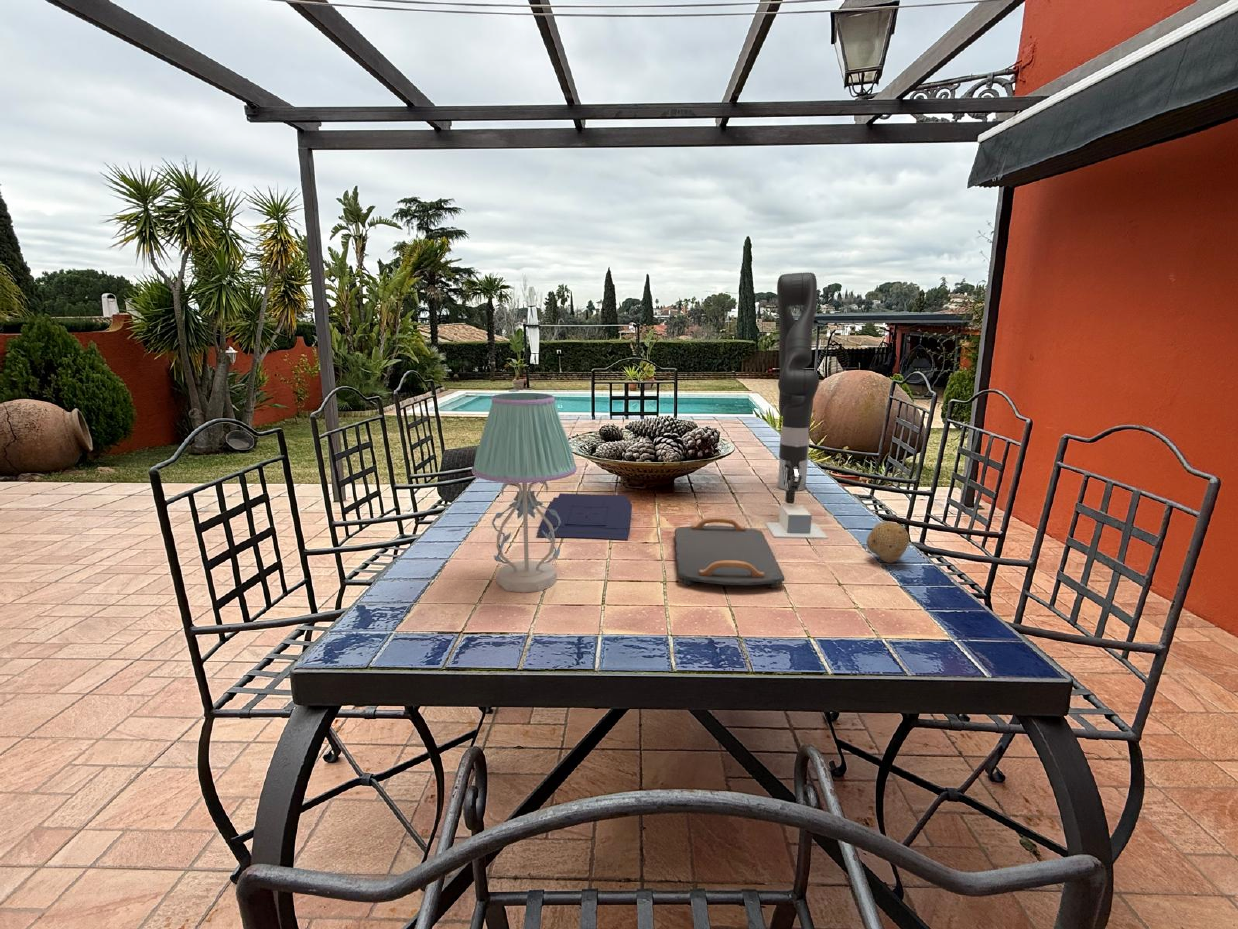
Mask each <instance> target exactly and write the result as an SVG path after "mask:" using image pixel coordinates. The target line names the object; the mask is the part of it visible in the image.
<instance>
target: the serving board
mask: <svg viewBox="0 0 1238 929" xmlns="http://www.w3.org/2000/svg"><path fill="white" fill-rule="evenodd" d="M711 523H721V524H722V523H723V524H729V525H715V524H714V525H713V524H712V525H711ZM708 524H710V525H708ZM730 525H732V526H730ZM674 543H675V545H676V546H675V549H674V552H675V555H676V557H675V562H676V564H677V565H676V566H677V568H676V569H677V576H678V578H680V579H683V585H684V586H685V587H693V586H694V585H695V584H694V582H697V583H698V582H700V583H706V584H712V585H713V584H714V585H723V586H724V585H725V586H756V585H757V586H758V585H759V586H760V585H767V587H768V589H770V590H777V589H778V588H779V583H783V582H785V580H786V579H785V576H784V574H783V571H782V569H781V568H780V565H779V562H778V561H777V559H776V557H775V555H774V553H773V551H772V548H771V547H770V545H769V542H768V541H767V539H766V537H765V535H764V532H763V531H762V530H759V529H756V528H748V527H745V526H742V525H740V524H739V523H738V522H737V521H735V520H734V519H733V518H729V517H728V518H727V517H721V516H716V517H715V516H712V517H707V518H706V517H705V518H704V519H702V520H701V521H699V522H698V523H697V524H692V525H691V526H680V527H675V529H674Z"/></svg>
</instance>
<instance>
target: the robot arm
mask: <svg viewBox="0 0 1238 929" xmlns="http://www.w3.org/2000/svg"><path fill="white" fill-rule="evenodd" d="M776 284H777V285H776V292H777V293H776V294H777V295H776V296H777V307H778V308H777V309H778V311H777V312H778V322H779V323H778V324H779V327H778V328H779V331H778V332H779V333H778V334H779V335H778V338H779V339H778V356H779V357H778V361H779V379H778V383H777V388H778V391H779V394H778V411H779V415H780V416H781V417H782V421H781V422H782V424H781V431H780V438H779V451H778V452H779V453H778V454H779V455H778V457H779V462H778V464H779V466H778V478H777V479H778V480H777V487H778V488H779V489H781V490H785V497H784V498H785V499H784V500H785V501H784V502H786V504H789V505H794V503H795V497H796V496H795V494H796V491H804V490H806V485H807V475H808V474H807V473H808V461H809V460H808V459H809V446H810V435H811V434H810V433H811V424H812V423H811V422H812V413H813V406H814V398H815V396H816V393H817V391H818V388H819V384H820V378H819V374H818V373H817V372H816V371H815V370H812V369H810V370H809V369H805V368H806V367H808V366H810V364H811V363H812V357H813V354H812V353H813V351H812V350H813V346H812V344H813V343H812V340H813V337H812V336H813V328H814V322H815V314H816V313H815V312H816V305H817V296H818V282H817V278H816V274H814V273H813V272H796V273H795V272H793V273H784V274H781V275H780V276H779V278H778V279H777V283H776ZM797 306H799V307H800V306H804V307H803V311H802V312H801V314H800V315H799V317H798V318H797V320H796V319H795V317H794V315H793V313H792V311H791V308H790V307H797Z"/></svg>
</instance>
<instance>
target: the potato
mask: <svg viewBox="0 0 1238 929" xmlns="http://www.w3.org/2000/svg"><path fill="white" fill-rule="evenodd" d="M909 543H910V536H909V533H908V531H907V530H906V528H905V527H904V526H902V525H901V524H900V523H897V522H895V521H894V522H893V521H889V520H888V521H883V522H881V523H880V522H879V524H876V525H875V526H874V527H873V529H872V530H871V531H870V533H869V534H868V536H867V538H866V546H867V549H868V550H869V551H870V552H872V553H873V554H875V555H877V557H879V559H880V560H882V561H883V562H885V563H888V564H891V563H895V562H896V561H898V560H899V559H900V558H902V556H903V555H904V554H905V552H906V551H907V548H908V546H909Z"/></svg>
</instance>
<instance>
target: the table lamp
mask: <svg viewBox="0 0 1238 929" xmlns="http://www.w3.org/2000/svg"><path fill="white" fill-rule="evenodd" d="M490 401H491V404H490V408H489V411H488V415H487V419H486V422H485V424H484V429H483V431H482V434H481V438H480V439H479V443H478V446H477V449H476V451H475V452H476V453H475V458H474V462H473V463H474V464H473V466H472V467H471V473H472V475H473V476H474V477H476V478H479V479H481V480H485V481H488V482H489V481H490V482H497V483H503V484H502V486H501V489H500V492H501V495H502V496H504V492H505V491H504V490H505V489H506V488H507V486H512V487H517V488H518V490H519V491H516V495H515V496H514V498H513V501H514V502H511V503H510V504H509V505H508V508H506V509H505V510H504V511H502V512H497V513H496V514H495V516H494V517H493V518H492V521H491V525H492V527H493V529H494V530H495V531H496V532H497V535H496V549H497V554H496V555H493V557H494V559H493V560H495V562H499V563H502V564H506V565H502V566H500V567H499V568H498V572H497V578H496V584H498V586H500V588H502V589H504V590H505V591H506V592H516V593H524V594H525V593H534V592H541V591H543V590H546V589H548V588H551V587H553V585H554V584H555V583H556V582H557V581H558V579H557V574H558V572H557V570H556V568H555V566H554V564H550V563H551V562H552V561H553V560H555V558H558V557H559V556H560V554H561V548H558V549H557V548H556V547H555V544H556V537H555V536H554V531H556V530H557V528H558V527H559V525H560V523H561V521H560V517H559V516H558V514H557V512H556V511H555V510H553V509H548V508H547V507H546V506H543V505H544V503H543V502H541V501H539V500H537V498H536V495H535V490H532V488H533V486H534V485H536V484H538V483H540V484H542V485H544V486H545V491H546V493H548V492H549V486H548V483H547V482H551V481H557V480H561V479H565V478H568V477H571V476H573V475H574V474H576V472H577V468H578V467H577V464H576V461H575V456H574V454H573V451H572V448H571V446H570V445H571V444H570V443H569V440H568V436H567V433H566V431H565V429H564V427H563V424H562V421H561V419H560V415H559V412H558V409H557V406H556V405H557V404H556V399H555V397H554V396H553V395H552V394H548V393H547V394H546V393H538V392H537V393H536V392H514V393H513V392H511V393H509V392H508V393H501V394H500V393H499V394H495V395H493V396H492V398H491V400H490ZM528 483H529V484H528ZM521 484H522V486H521ZM539 507H540V508H543V509H545V510H549V511H550V513H551V514H552V515H554V516H556V517H557V518H558V521H559V523H558V525H557V527H556V528H555V529H554V530H553V526H552V524H551V523H550V522H549V520H548V519H547V518H546V517H545V516H544V514H545V513H543V512H542V511H541V509H540V508H539ZM509 510H510V512H508V511H509ZM534 510H536V511H537V513H538V514H539V515H540V517H541V518H542V519H544V520H545V522H546V523H547V524H548V526H549V529H550V532H549V535H548V534H547V533H545V532H544V531H543V530H542V532H543V534H544V535H545V537H544V538H547V540H548V541H550V547H549V551H548V553H547V554H546V555H545V556H544V557H543V558H542V559H541V561H538V560H530V558H529V555H530V554H529V525H528V524H529V518H528V517H529V516H531V517H532V518H533V519H536V513H535V512H534ZM516 511H517V515H516V516H517V520H519V519H520V518H521V517H522V519H523V520H522V521H523V526H522V527H523V551H524V552H523V553H524V554H523V555H524V556H523V558H524V560H521V561H514V562H512V561H511V560H509V559H508V558H507V557H505V556H504V554H503V550H502V549H503V547H504V545H505V543H506V542H508V541H509V540H510V537H511V535H512V532H509V533H508V534H507V535H506V534H505V532H503V528H504V527H505V526H506V524H507V523H508V521H509V520H510V519H511V518H512V516H513V515H514V513H515V512H516ZM506 512H508V514H507V515H506V517H505V519H503V521H502V522H501V525H500V527H499V529H498V528H497V526H496V525H495V521H496V520H497V519H500V518H502V517H503V515H504V514H505V513H506ZM528 515H529V516H528ZM550 533H551V537H550ZM501 537H502V541H501V543H500V540H501ZM552 554H553V555H552ZM551 555H552V557H551V558H549V557H550V556H551ZM548 558H549V559H548ZM547 559H548V560H547Z"/></svg>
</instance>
